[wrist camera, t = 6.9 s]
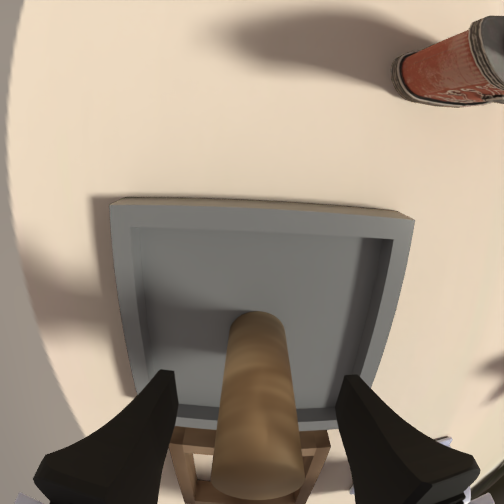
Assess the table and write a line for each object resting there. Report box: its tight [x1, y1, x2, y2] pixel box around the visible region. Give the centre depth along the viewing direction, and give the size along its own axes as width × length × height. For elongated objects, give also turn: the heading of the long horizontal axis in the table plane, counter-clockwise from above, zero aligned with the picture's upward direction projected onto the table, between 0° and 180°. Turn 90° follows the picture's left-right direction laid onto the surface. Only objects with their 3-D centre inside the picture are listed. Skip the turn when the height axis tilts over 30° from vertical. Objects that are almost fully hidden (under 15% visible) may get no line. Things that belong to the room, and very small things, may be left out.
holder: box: [169, 426, 331, 504], centre depth 21 cm, size 11×11×2 cm
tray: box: [109, 197, 415, 431], centre depth 16 cm, size 14×14×2 cm
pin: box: [211, 311, 305, 500], centre depth 12 cm, size 3×3×9 cm
